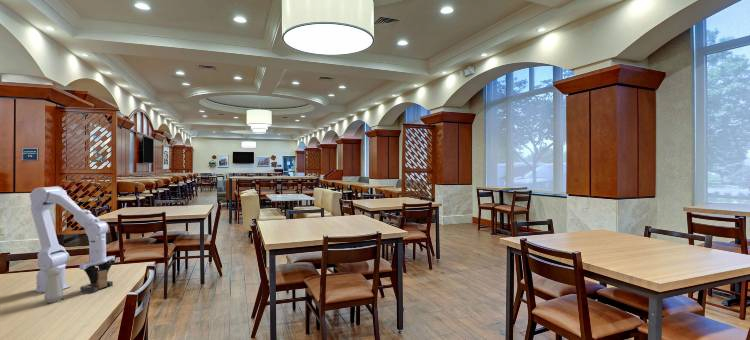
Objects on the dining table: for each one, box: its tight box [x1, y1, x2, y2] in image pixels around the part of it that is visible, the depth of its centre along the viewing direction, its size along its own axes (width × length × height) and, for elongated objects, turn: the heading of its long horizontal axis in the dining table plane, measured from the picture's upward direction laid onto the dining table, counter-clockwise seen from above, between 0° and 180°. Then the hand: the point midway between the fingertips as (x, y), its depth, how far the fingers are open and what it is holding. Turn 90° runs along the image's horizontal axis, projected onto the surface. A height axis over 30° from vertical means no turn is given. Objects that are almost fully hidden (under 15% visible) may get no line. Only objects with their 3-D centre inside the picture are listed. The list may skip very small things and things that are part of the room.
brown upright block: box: [91, 269, 108, 290], centre depth 156 cm, size 4×4×7 cm
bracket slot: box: [79, 280, 114, 293], centre depth 157 cm, size 7×9×2 cm
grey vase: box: [43, 267, 65, 304], centre depth 142 cm, size 6×6×13 cm
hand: (98, 281), depth 156 cm, fingers closed on brown upright block, 4 cm apart
